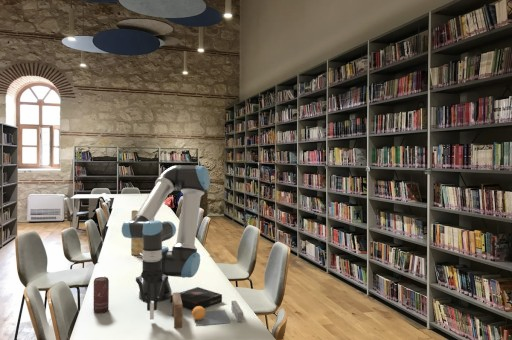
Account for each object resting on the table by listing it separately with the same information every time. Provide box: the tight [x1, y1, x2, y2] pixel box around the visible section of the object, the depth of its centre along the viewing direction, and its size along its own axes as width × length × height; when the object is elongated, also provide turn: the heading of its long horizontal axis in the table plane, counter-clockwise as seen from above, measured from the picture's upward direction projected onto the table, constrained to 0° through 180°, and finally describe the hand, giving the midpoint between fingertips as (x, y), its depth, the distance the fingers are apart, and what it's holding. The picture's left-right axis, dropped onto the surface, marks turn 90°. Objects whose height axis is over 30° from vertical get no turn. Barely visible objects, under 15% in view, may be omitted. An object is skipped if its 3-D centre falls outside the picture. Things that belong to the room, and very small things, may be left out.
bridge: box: [171, 292, 183, 329], centre depth 169 cm, size 3×14×9 cm, turn 15°
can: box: [93, 276, 110, 314], centre depth 178 cm, size 6×6×14 cm
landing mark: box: [193, 309, 231, 327], centre depth 173 cm, size 14×14×1 cm
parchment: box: [130, 209, 155, 256], centre depth 273 cm, size 23×6×30 cm, turn 43°
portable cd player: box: [169, 286, 223, 311], centre depth 191 cm, size 16×17×4 cm
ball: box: [191, 306, 206, 320], centre depth 170 cm, size 6×6×6 cm
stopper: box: [231, 300, 244, 323], centre depth 175 cm, size 14×2×4 cm, turn 15°
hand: (151, 318), depth 166 cm, fingers closed
